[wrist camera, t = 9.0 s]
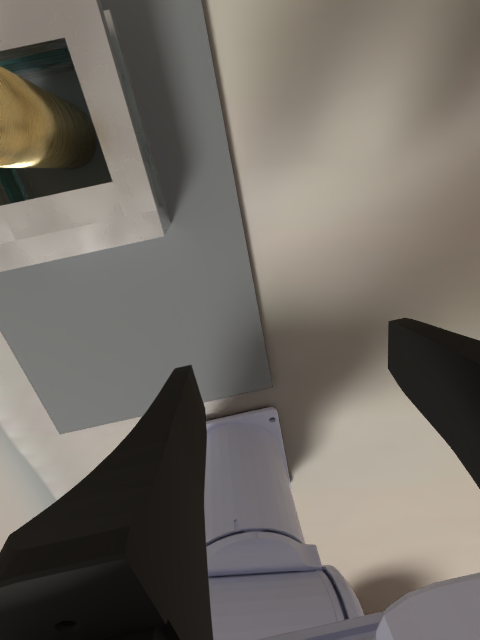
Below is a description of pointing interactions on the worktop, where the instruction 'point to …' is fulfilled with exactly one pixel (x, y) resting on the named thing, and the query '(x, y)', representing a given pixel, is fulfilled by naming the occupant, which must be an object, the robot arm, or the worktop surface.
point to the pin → (41, 127)
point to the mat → (145, 250)
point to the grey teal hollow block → (111, 127)
